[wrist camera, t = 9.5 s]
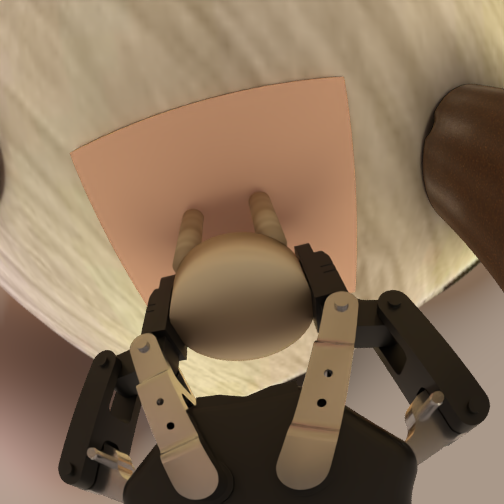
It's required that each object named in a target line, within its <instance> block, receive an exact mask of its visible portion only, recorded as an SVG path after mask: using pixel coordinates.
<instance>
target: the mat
mask: <svg viewBox="0 0 504 504" xmlns="http://www.w3.org/2000/svg"><path fill="white" fill-rule="evenodd" d="M70 155H71V158H72V160H73V163H74V165H75V168H76V170H77V173H78V175H79V178H80V180H81V182H82V185H83V187H84V189H85V191H86V194H87V196H88V198H89V200H90V202H91V204H92V207H93V209H94V211H95V213H96V215H97V217H98V219H99V221H100V223H101V225H102V227H103V229H104V231H105V233H106V235H107V237H108V239H109V241H110V243H111V245H112V246H113V248H114V250H115V252H116V254H117V256H118V257H119V259H120V261H121V263H122V265H123V266H124V268H125V270H126V272H127V273H128V275H129V277H130V278H131V280H132V282H133V284H134V285H135V287H136V289H137V290H138V292H139V293H140V295H141V297H142V298H143V300H144V301H145V303H146V305H147V306H148V300H149V297H150V295H151V294H152V292H153V291H154V289H158V288H159V285H160V280H161V278H162V277H166V276H170V275H175V274H176V273H175V271H174V270H173V266H172V265H173V259H174V254H175V250H176V245H177V240H178V235H179V231H180V226H181V222H182V218H183V214H184V213H185V212H186V211H187V210H189V209H197V210H199V211H200V212H201V213H202V214H203V216H204V222H203V234H202V242H204V241H206V240H208V239H210V238H212V237H216V236H219V235H222V234H227V233H235V232H251V233H255V229H254V225H253V220H252V216H251V212H250V207H249V198H250V196H251V195H252V194H253V193H255V192H265V193H266V194H268V196H269V197H270V200H271V202H272V205H273V207H274V210H275V212H276V215H277V217H278V220H279V222H280V225H281V227H282V230H283V233H284V235H285V238H286V240H287V247H288V248H290V249H291V250H292V251H293V253H294V254H295V251H294V246H298V245H302V244H306V243H309V244H310V246H311V248H312V250H313V252H318V251H323V252H325V253H326V254H328V255H329V256H330V258H331V260H332V262H333V264H334V265H335V267H336V270H337V271H338V273H339V275H340V277H341V279H342V281H343V283H344V284H345V286H346V288H347V290H348V292H349V293H352V292H355V287H356V259H357V213H356V185H355V168H354V154H353V143H352V133H351V124H350V115H349V107H348V100H347V93H346V87H345V80H344V77H328V78H317V79H308V80H300V81H293V82H286V83H279V84H273V85H268V86H262V87H257V88H252V89H247V90H242V91H238V92H233V93H229V94H225V95H221V96H217V97H213V98H209V99H206V100H202V101H198V102H195V103H192V104H188V105H185V106H182V107H179V108H175V109H172V110H169V111H166V112H163V113H161V114H158V115H155V116H152V117H149V118H147V119H144V120H141V121H139V122H136V123H134V124H131V125H129V126H126V127H124V128H121V129H119V130H117V131H114V132H112V133H110V134H107V135H105V136H103V137H101V138H99V139H97V140H94V141H92V142H90V143H88V144H86V145H84V146H82V147H80V148H78V149H76V150H74V151H73V152H71V153H70Z"/></svg>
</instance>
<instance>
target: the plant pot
mask: <svg viewBox="0 0 504 504" xmlns="http://www.w3.org/2000/svg"><path fill="white" fill-rule="evenodd" d="M434 117H435V122H434V125H433V128H432V130H431V132H430V134H429V135H428V136H427V137H426V139H425V144H424V152H423V175H424V182H425V187H426V191H427V195H428V198H429V200H430V203H431V204H432V206H433V208H434V209H435V211H436V212H437V213H438V215H439V216H440V217H441V218H443V219H444V221H445V222H446V223H447V224H448V225H449V226H450V227H451V228H452V229H453V230H454V231H455V232H456V233H457V234H458V235H459V237H460V238H461V239H462V240H463V241H464V242H465V243H466V245H467V246H468V247H469V248H470V249H471V250H472V252H473V253H474V254H475V255H476V256H477V258H478V259H479V260H480V261H481V263H482V264H483V265H484V266H485V267H486V269H487V270H488V271H489V273H490V274H491V275H492V277H493V278H494V279H495V281H496V282H497V283H498V285H499V286H500V288H501V289H502V291H503V292H504V89H502V88H496V87H489V86H483V85H477V84H467V85H462V86H459V87H457V88H455V89H454V90H452V91H451V92H449V93H448V94H447V95H446V96H445V97H444V98H443V100H442V101H441V102H440V104H439V105H438V107H437V108H436V110H435V112H434Z"/></svg>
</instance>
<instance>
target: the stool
mask: <svg viewBox="0 0 504 504" xmlns="http://www.w3.org/2000/svg"><path fill="white" fill-rule="evenodd" d="M249 207H250V212H251V216H252V220H253V225H254V229H255V233H251V232H235V233H227V234H222V235H219V236H216V237H212V238H210V239H208V240H206V241H204V242H202V234H203V222H204V216H203V214H202V213H201V212H200V211H199V210H197V209H189V210H187V211H186V212H185V213H184V214H183V218H182V222H181V226H180V231H179V235H178V240H177V245H176V250H175V254H174V259H173V265H172V266H173V270H174V271H175V273H176V274H175V279H174V285H173V291H172V298H171V304H170V314H169V317H170V323H171V324H172V326H173V327H174V329H175V330H176V332H177V333H178V335H179V337H180V338H181V340H182V341H183V343H184V344H185V345H186V346H187V347H189V348H190V349H192V350H194V351H195V352H197V353H200V354H202V355H204V356H207V357H211V358H215V359H220V360H227V361H245V360H253V359H259V358H263V357H266V356H269V355H272V354H275V353H277V352H280V351H282V350H283V349H285V348H287V347H289V346H290V345H292V344H293V343H294V342H296V341H297V340H298V339H299V338H300V337H301V336H302V335H303V334H304V333H305V332H306V330H307V329H308V328H309V326H310V324H311V322H312V320H313V307H312V297H311V290H310V287H309V284H308V282H307V279H306V277H305V274H304V272H303V269H302V267H301V264H300V262H299V260H298V258H297V256H296V255H295V254H294V253H293V251H292V250H291V249H290V248H288V247H287V240H286V238H285V235H284V233H283V230H282V227H281V225H280V222H279V220H278V217H277V215H276V212H275V210H274V207H273V205H272V202H271V200H270V197H269V196H268V194H266V193H265V192H255V193H253V194H252V195H251V196H250V198H249Z"/></svg>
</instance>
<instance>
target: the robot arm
mask: <svg viewBox="0 0 504 504" xmlns="http://www.w3.org/2000/svg"><path fill="white" fill-rule="evenodd" d="M294 251H295V255H296V256H297V258H298V260H299V262H300V264H301V267H302V269H303V272H304V274H305V277H306V279H307V282H308V284H309V287H310V290H311V297H312V307H313V320H314V323H315V326H316V329H317V332H318V338H317V341H315V342H314V344H313V348H312V352H311V356H310V360H309V364H308V368H307V372H306V375H305V379H304V383H303V387H298V386H297V382H296V380H295V381H291V382H287V383H282V384H278V385H273V386H270V387H267V388H265V389H263V390H260V391H258V392H256V393H253V394H251V395H249V396H245V397H241V396H228V395H214V396H206V397H198V398H195V397H194V395H193V393H192V391H191V389H190V387H189V385H188V383H187V382H186V380H185V378H184V376H183V374H182V372H181V370H180V368H179V361H181V360H187V346H186V345H185V344H184V343H183V341H182V340H181V338H180V337H179V335H178V333H177V332H176V330H175V329H174V327H173V326H172V324H171V323H170V317H169V314H170V304H171V298H172V291H173V285H174V279H175V275H170V276H166V277H162V278H161V280H160V285H159V288H158V289H154V291H153V292H152V294H151V295H150V297H149V300H148V307H147V309H146V314H145V318H144V323H143V328H142V333H141V335H139V336H138V337H136V338H135V339H134V340H133V342H132V343H131V346H130V350H128V351H126V352H124V353H121V354H119V355H117V356H116V355H115V354H114V353H113V352H112V351H110V350H105V351H102V352H100V353H99V354H98V355H97V356H96V357H95V359H94V360H93V363H92V365H91V368H90V370H89V373H88V375H87V378H86V381H85V383H84V386H83V389H82V392H81V394H80V397H79V400H78V402H77V406H76V408H75V412H74V414H73V417H72V420H71V423H70V427H69V430H68V433H67V437H66V440H65V443H64V447H63V451H62V454H61V458H60V462H59V467H58V470H59V474H60V477H61V479H62V480H63V481H64V482H65V483H67V484H70V485H72V486H75V487H78V488H80V489H82V490H85V491H88V492H91V493H94V494H98V495H104V496H106V497H109V498H111V499H114V500H117V501H120V502H122V503H124V504H411V497H412V490H413V485H414V481H415V478H416V474H417V465H419V464H420V463H422V462H423V461H425V460H426V459H428V458H429V457H431V456H432V455H433V454H435V453H436V452H438V451H439V450H440V449H442V448H443V447H445V446H447V445H450V444H451V443H453V442H455V441H456V440H458V439H459V438H460V437H462V436H463V435H465V434H466V433H468V432H469V431H470V430H472V429H473V428H474V427H476V426H477V425H478V424H480V423H481V422H482V421H483V420H484V419H485V418H486V416H487V415H488V412H489V408H490V403H489V399H488V397H487V395H486V393H485V392H484V390H483V389H482V388H481V386H480V385H479V384H478V382H477V381H476V380H475V378H474V377H473V375H472V374H471V373H470V371H469V370H468V369H467V367H466V366H465V365H464V363H463V362H462V361H461V359H460V358H459V357H458V356H457V354H456V353H455V352H454V351H453V349H452V348H451V347H450V346H449V344H448V343H447V342H446V341H445V339H444V338H443V337H442V336H441V335H440V333H439V332H438V331H437V330H436V329H435V327H434V326H433V325H432V324H431V323H430V321H429V320H428V319H427V318H426V317H425V316H424V315H423V313H422V312H421V311H420V310H419V309H418V308H417V307H416V305H415V304H414V303H413V302H412V301H411V300H410V299H409V298H408V297H407V296H406V295H405V294H404V293H402V292H400V291H396V290H390V291H386V292H384V293H382V294H381V295H380V297H379V299H378V300H360V299H357V298H356V297H355V296H354V295H353V294H351V293H349V292H348V290H347V288H346V286H345V284H344V283H343V281H342V279H341V277H340V275H339V273H338V271H337V270H336V267H335V265H334V264H333V262H332V260H331V258H330V256H329V255H328V254H326V253H325V252H323V251H318V252H313V250H312V248H311V246H310V244H309V243H306V244H302V245H298V246H294ZM354 348H374V350H375V351H376V353H377V354H378V356H379V357H380V359H381V360H382V362H383V363H384V365H385V366H386V368H387V370H388V371H389V373H390V374H391V376H392V377H393V379H394V380H395V382H396V383H397V385H398V386H399V388H400V390H401V391H402V393H403V394H404V396H405V397H406V399H407V401H408V402H409V404H410V406H409V408H408V409H407V411H406V414H405V423H406V425H407V429H408V435H407V438H406V440H405V441H403V440H401V439H399V438H398V437H396V436H394V435H393V434H391V433H389V432H388V431H386V430H384V429H383V428H381V427H379V426H377V425H376V424H374V423H373V422H371V421H369V420H368V419H366V418H364V417H363V416H361V415H360V414H358V413H356V412H355V411H353V410H352V409H350V408H349V407H347V406H346V405H345V402H346V396H347V391H348V385H349V379H350V373H351V366H352V359H353V352H354ZM114 390H115V391H116V394H115V397H114V400H113V404H112V407H111V410H109V404H110V401H111V397H112V395H113V391H114ZM141 404H142V406H143V409H144V412H145V415H146V417H147V420H148V422H149V425H150V428H151V430H152V433H153V435H154V437H155V439H156V442H157V444H156V445H155V446H154V448H153V449H152V450H151V452H150V453H149V454H148V455H147V457H146V458H145V459H144V460H143V462H142V463H141V464H140V465H139V467H138V468H137V469H136V470H135V468H134V466H133V465H132V461H131V459H130V457H129V454H130V450H131V445H132V441H133V437H134V432H135V428H136V424H137V419H138V416H139V412H140V408H141Z"/></svg>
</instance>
